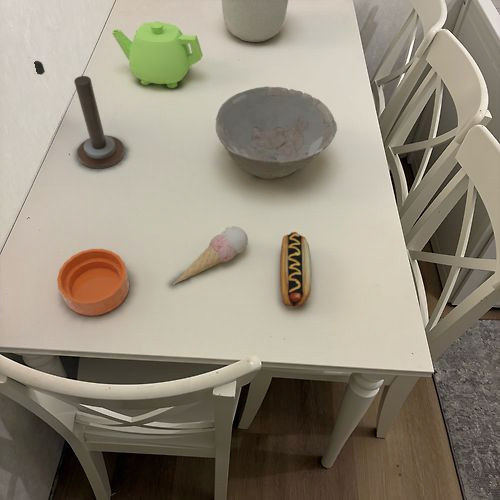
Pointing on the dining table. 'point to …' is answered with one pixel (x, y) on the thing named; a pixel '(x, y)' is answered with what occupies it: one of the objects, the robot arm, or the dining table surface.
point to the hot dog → (295, 270)
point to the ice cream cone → (218, 251)
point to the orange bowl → (93, 281)
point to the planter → (254, 18)
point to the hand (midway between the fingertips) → (30, 81)
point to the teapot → (159, 53)
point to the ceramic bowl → (274, 130)
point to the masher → (93, 122)
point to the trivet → (102, 162)
